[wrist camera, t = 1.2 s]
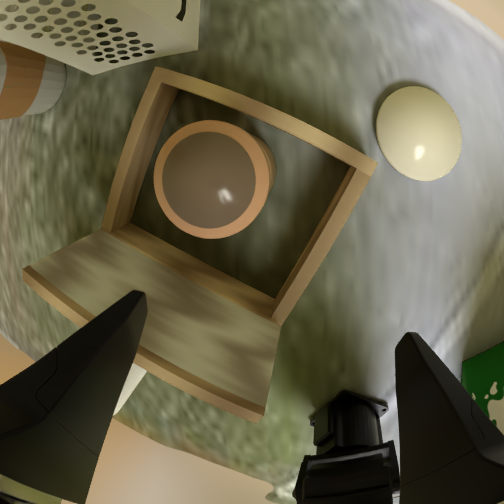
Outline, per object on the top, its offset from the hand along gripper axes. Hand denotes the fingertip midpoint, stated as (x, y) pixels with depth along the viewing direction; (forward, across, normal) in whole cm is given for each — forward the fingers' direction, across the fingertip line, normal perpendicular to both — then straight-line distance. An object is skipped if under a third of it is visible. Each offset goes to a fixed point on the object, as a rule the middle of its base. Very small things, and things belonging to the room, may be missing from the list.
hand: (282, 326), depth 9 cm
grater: (+19, +14, -12) cm, 27 cm away
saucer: (+14, -9, -6) cm, 18 cm away
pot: (+14, +3, 0) cm, 15 cm away
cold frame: (+14, +4, +2) cm, 14 cm away
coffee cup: (+19, +25, -6) cm, 32 cm away
